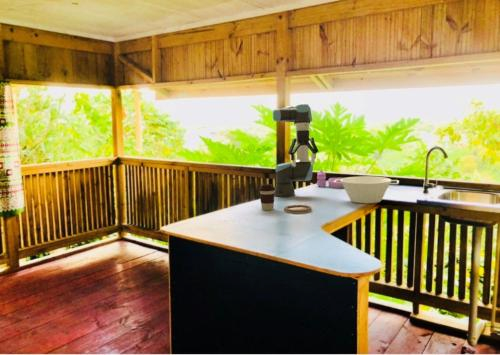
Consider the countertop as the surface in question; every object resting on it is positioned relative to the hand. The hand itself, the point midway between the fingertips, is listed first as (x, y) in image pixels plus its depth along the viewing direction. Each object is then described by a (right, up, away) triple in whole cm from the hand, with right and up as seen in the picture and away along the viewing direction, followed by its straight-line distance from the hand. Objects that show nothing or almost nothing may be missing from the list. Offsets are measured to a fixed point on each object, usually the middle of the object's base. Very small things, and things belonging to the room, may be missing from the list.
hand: (303, 164), depth 245 cm
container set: (+34, -15, +78) cm, 86 cm away
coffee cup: (-22, -27, +1) cm, 35 cm away
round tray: (-4, -27, -6) cm, 28 cm away
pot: (+42, -23, +15) cm, 50 cm away
